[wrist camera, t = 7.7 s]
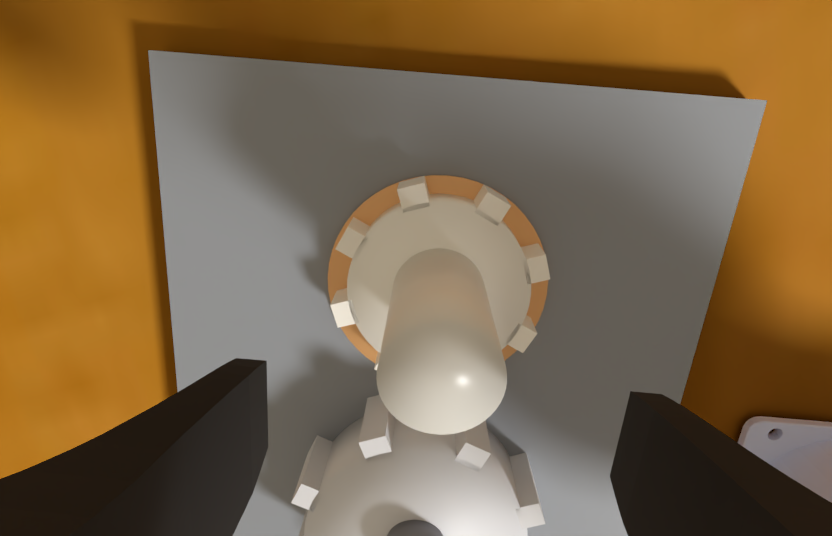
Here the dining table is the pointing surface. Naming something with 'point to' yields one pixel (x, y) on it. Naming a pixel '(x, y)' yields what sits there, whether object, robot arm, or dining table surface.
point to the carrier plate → (447, 174)
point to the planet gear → (440, 303)
